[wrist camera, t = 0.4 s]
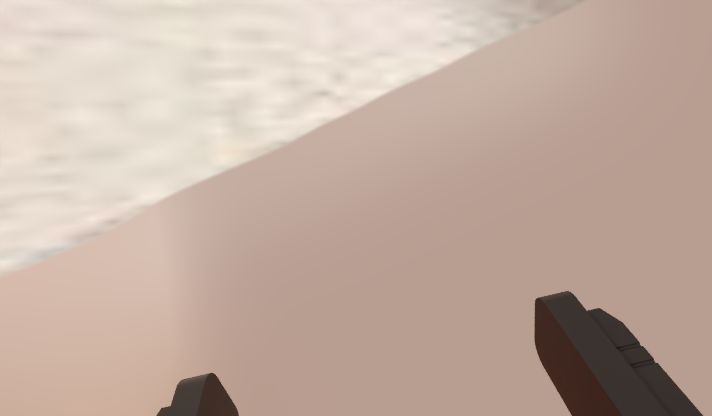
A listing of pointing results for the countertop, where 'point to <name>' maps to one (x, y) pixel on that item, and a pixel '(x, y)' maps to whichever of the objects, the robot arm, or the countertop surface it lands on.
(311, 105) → the countertop surface
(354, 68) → the countertop surface
